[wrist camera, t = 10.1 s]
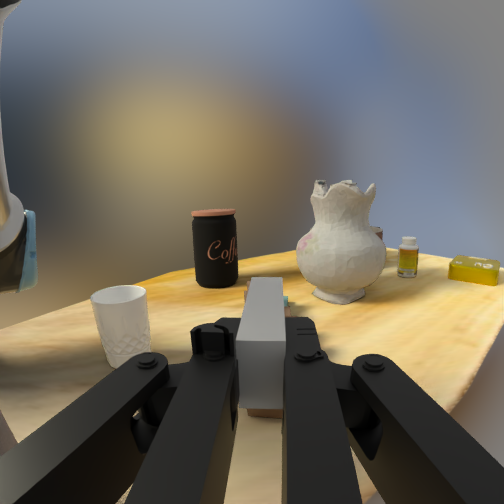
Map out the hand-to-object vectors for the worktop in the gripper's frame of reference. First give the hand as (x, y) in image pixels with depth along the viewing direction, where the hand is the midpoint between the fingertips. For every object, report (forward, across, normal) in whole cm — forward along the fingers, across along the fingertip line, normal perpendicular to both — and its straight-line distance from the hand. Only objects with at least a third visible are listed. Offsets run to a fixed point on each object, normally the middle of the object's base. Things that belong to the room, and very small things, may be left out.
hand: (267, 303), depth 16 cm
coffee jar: (+60, -14, -18) cm, 64 cm away
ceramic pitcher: (+51, +14, -18) cm, 55 cm away
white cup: (+21, -20, -18) cm, 34 cm away
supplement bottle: (+62, +36, -18) cm, 73 cm away
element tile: (+57, +57, -18) cm, 82 cm away
